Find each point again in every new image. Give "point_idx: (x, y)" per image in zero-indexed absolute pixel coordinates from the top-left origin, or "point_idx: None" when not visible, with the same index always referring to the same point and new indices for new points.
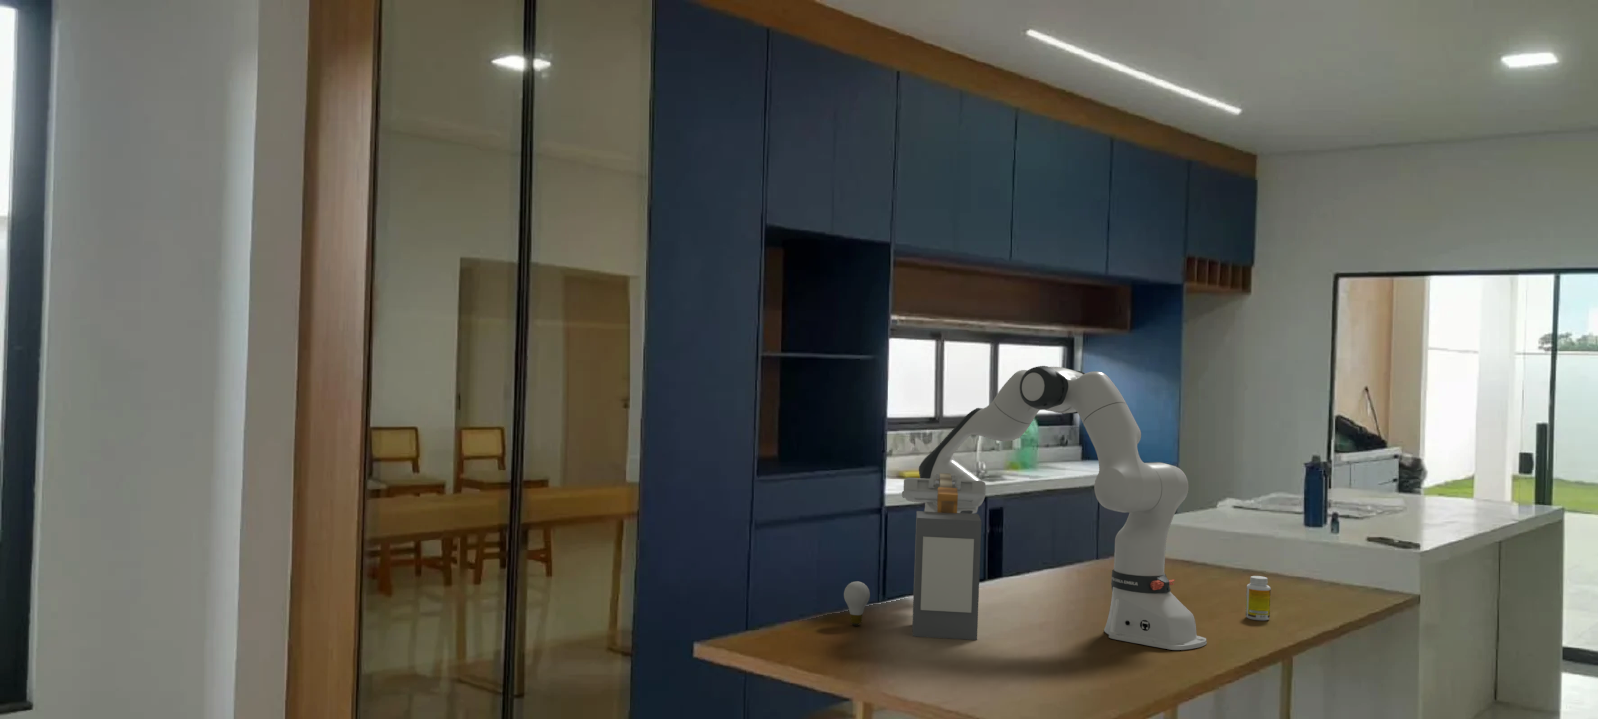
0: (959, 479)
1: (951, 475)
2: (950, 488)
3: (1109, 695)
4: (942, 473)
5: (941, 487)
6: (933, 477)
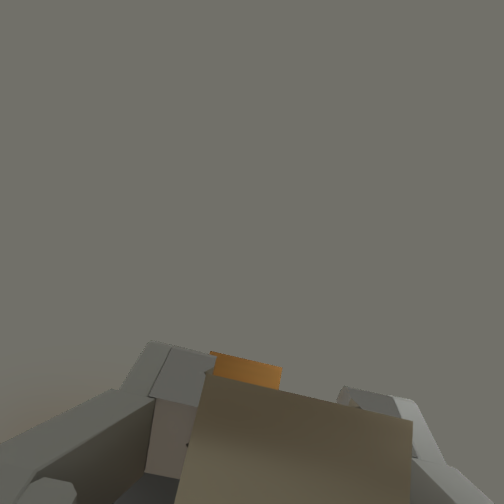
0: (43, 426)
1: (215, 358)
2: (234, 357)
3: None
4: (352, 407)
5: (268, 364)
6: (443, 473)
